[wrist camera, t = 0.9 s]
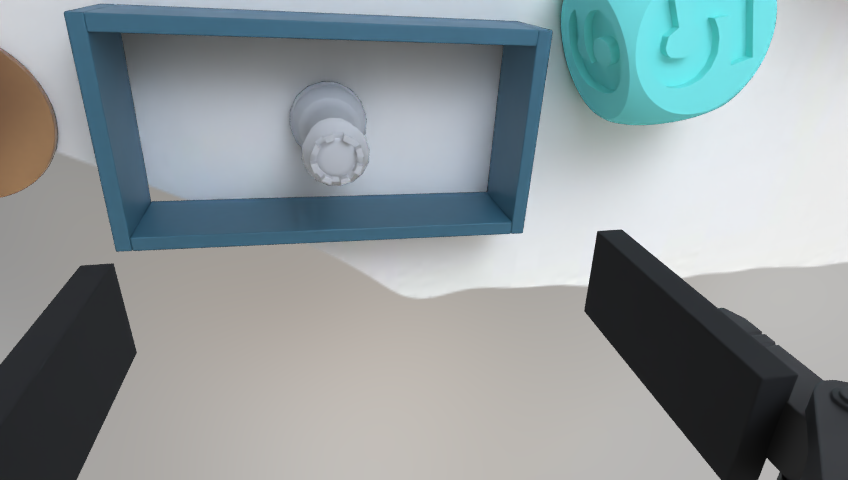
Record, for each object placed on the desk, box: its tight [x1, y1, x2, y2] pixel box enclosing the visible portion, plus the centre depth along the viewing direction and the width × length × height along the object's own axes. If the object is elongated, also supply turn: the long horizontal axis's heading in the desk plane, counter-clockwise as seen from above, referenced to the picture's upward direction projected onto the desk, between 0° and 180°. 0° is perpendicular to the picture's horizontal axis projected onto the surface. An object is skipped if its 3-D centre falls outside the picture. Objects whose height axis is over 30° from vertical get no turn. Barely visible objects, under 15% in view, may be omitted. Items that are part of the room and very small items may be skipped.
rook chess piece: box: [290, 81, 370, 186], centre depth 29 cm, size 4×4×8 cm
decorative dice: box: [561, 0, 777, 125], centre depth 30 cm, size 8×8×8 cm
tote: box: [64, 4, 553, 252], centre depth 30 cm, size 23×12×5 cm, turn 87°
